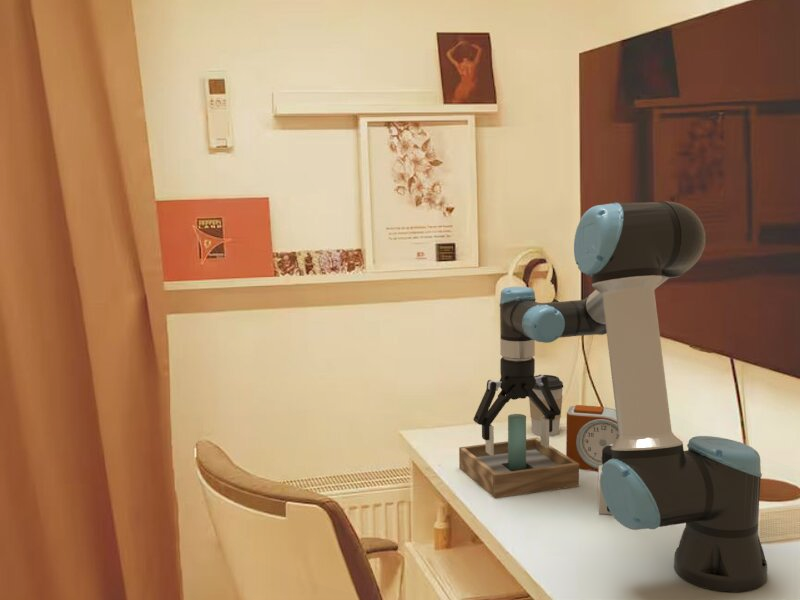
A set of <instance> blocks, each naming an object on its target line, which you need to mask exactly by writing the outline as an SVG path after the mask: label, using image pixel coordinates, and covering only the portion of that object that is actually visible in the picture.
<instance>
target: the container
mask: <svg viewBox="0 0 800 600" xmlns="http://www.w3.org/2000/svg"><path fill="white" fill-rule="evenodd" d="M612 445H613V444H611V445H608V446H605V447H604V448H603V449H602V465H600V466H599V470H598V471H597V472H598V474H597V476H598V477H597V480H598V484H597V487H598V488H597V495H598V496H597V505H598V514H599V515H611V516H613V514H612V513H611V512H610V510H609V508H608V506H607V504H606V502H605V499H604V496H603V493H602V489H601V482H600V474H601V472H602V470H601V469H602V466H603V465H604V463H606V462H607V461H608V460H610V459H612V453H611V446H612Z"/></svg>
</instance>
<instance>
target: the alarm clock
mask: <svg viewBox="0 0 800 600" xmlns="http://www.w3.org/2000/svg"><path fill="white" fill-rule="evenodd" d="M618 437H619V434H618V425H617V417H616V408H611V407H604V406H597V405H583V404H582V405H581V404H575V405H573V406H571V405H570V407H569V408H568V409H567V411H566V437H565V438H566V439H565V440H566V444H565V445H566V446H565V448H566V449H565V450H566V451H565V452H566V453H565V455H566V456H568V457H569V458H571V459H572V460H574V461H576V462H577V463H579V470H585V471H587V470H588V471H597V472H598V470H599V466H600V465H602V449H603V448H604V447H605V446H608V445H611V444H614V443H615V442H616V440H617V439H618Z"/></svg>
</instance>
